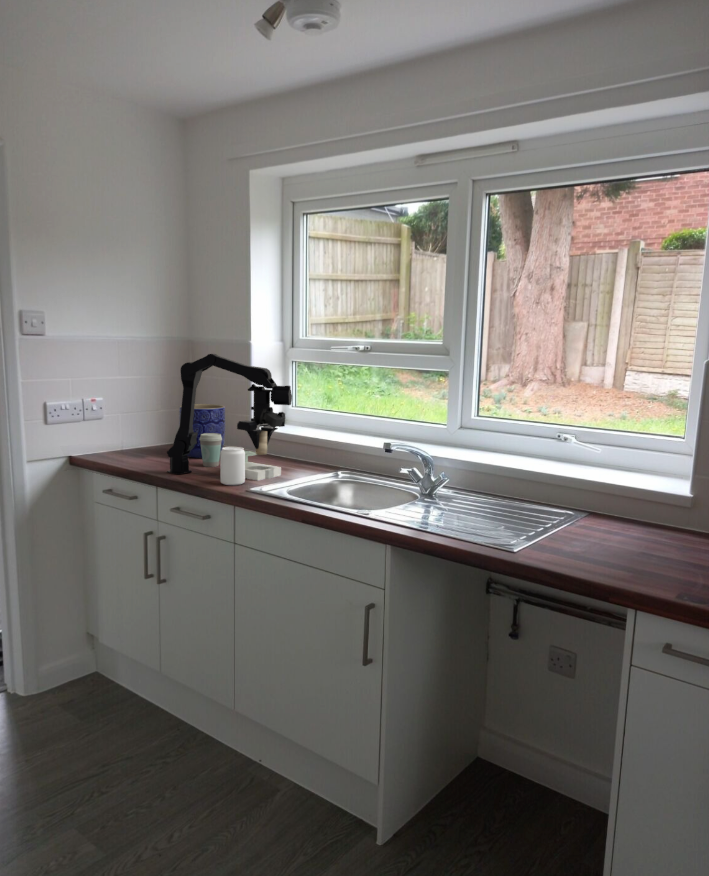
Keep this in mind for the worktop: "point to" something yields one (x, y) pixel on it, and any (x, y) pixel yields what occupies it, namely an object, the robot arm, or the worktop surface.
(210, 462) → the coffee cup
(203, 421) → the planter
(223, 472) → the beverage can
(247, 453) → the mint green folder
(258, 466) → the socket
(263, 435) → the peg
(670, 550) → the worktop surface
